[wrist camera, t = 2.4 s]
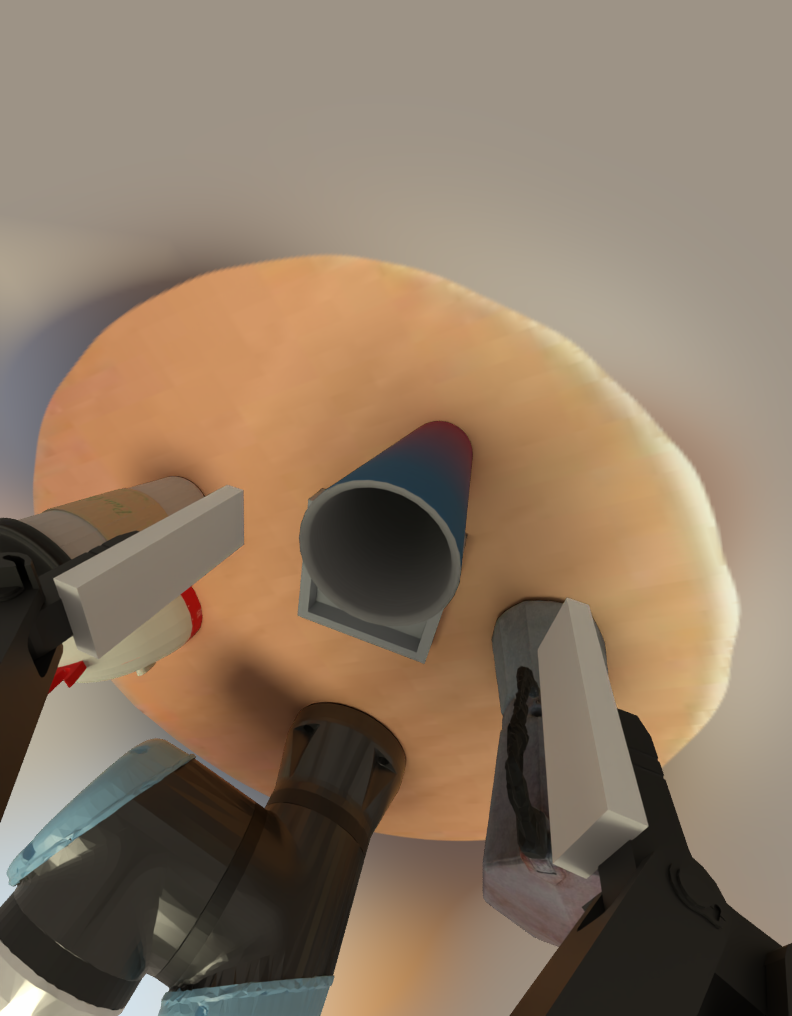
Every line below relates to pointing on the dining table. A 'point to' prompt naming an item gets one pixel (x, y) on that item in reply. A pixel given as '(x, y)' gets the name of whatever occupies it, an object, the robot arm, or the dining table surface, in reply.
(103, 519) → the coffee cup
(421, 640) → the tray
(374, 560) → the cup
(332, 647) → the dining table surface
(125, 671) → the kitchen timer
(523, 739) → the moka pot
